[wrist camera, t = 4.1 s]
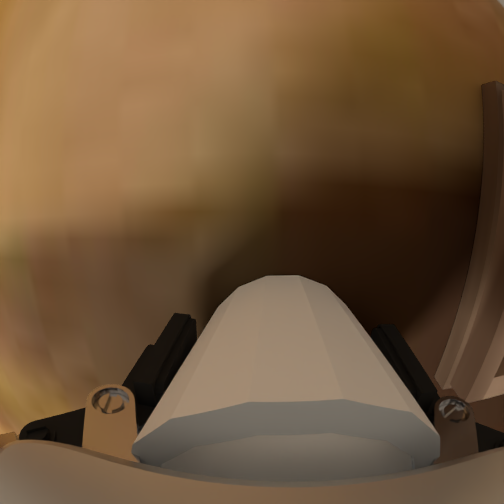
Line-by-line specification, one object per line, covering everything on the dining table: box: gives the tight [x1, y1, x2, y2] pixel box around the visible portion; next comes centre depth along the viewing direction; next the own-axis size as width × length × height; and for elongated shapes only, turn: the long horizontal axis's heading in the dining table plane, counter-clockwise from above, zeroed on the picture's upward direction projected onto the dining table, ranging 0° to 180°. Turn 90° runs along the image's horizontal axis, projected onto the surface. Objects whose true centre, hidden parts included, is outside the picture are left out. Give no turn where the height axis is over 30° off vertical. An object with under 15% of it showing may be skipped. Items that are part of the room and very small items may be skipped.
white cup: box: [131, 275, 440, 481], centre depth 8 cm, size 7×7×7 cm
